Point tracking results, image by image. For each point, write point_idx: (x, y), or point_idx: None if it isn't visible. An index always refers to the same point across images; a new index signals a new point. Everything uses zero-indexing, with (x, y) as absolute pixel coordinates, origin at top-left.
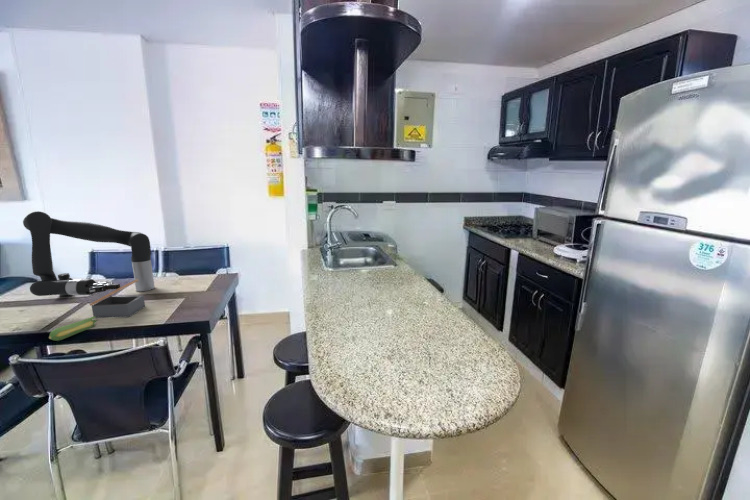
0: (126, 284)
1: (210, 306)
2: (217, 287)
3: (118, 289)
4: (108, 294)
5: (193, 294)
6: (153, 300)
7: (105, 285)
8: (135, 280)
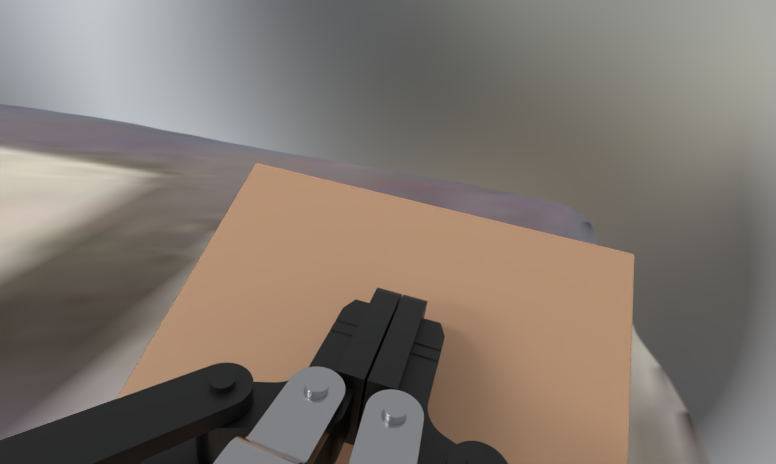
0: (485, 219)
1: (422, 186)
2: (132, 147)
3: (628, 283)
4: (624, 445)
5: (179, 205)
6: (125, 360)
7: (417, 455)
8: (302, 179)
